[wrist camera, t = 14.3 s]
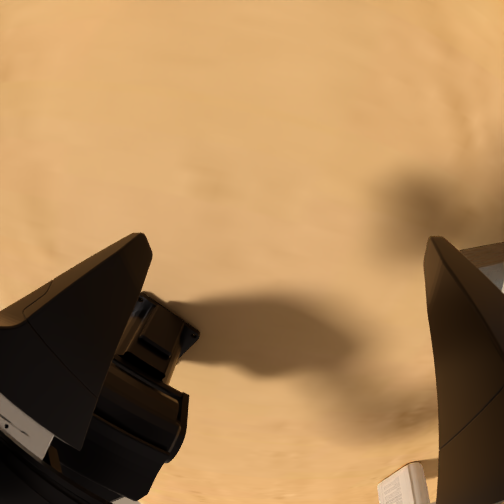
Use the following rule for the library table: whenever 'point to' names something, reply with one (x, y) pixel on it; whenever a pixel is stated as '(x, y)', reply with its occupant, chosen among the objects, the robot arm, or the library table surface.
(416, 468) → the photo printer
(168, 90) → the library table surface
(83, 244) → the library table surface
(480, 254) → the grey rectangular tray
